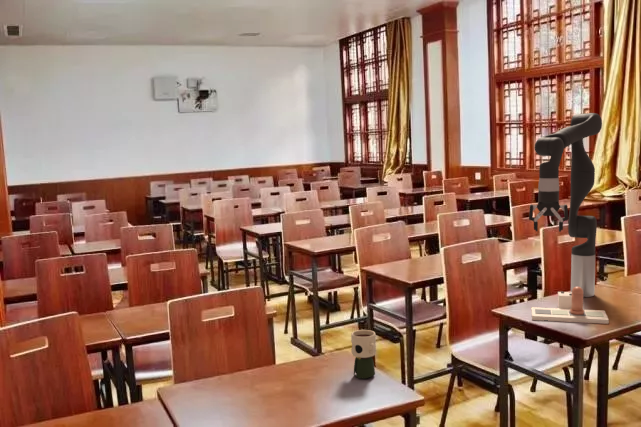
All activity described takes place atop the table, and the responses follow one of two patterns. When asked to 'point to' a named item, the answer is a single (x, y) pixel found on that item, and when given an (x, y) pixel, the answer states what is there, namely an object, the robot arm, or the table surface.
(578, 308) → the pawn
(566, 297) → the die
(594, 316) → the game board
